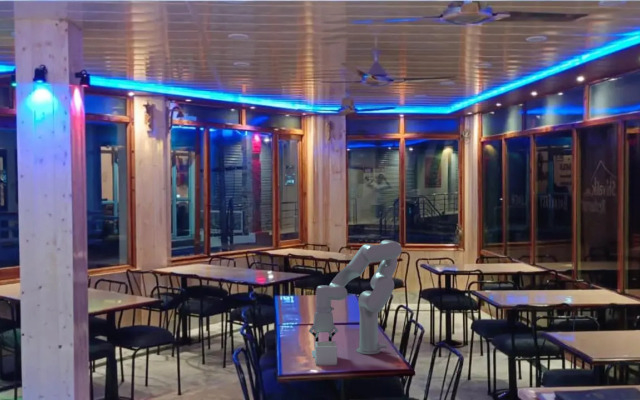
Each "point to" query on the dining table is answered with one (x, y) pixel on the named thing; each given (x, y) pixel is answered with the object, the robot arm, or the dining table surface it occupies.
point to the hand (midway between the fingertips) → (323, 344)
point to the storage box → (326, 353)
